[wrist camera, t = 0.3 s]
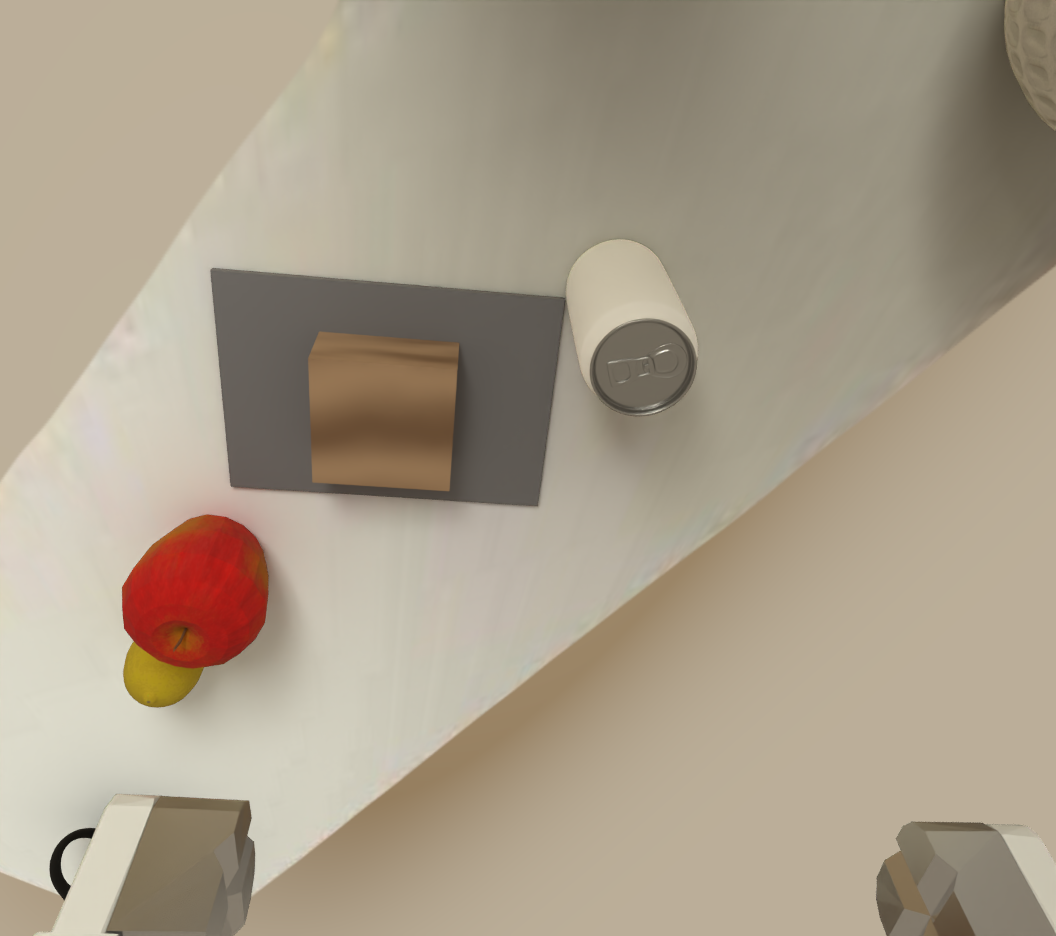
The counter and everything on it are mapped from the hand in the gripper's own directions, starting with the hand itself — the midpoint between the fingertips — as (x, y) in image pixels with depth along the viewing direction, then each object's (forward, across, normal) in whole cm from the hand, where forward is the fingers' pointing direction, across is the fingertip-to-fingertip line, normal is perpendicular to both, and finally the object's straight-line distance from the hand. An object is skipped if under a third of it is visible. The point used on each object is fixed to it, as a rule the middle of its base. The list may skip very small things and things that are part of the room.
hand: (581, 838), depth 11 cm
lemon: (+46, +22, +40) cm, 66 cm away
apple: (+46, +18, +31) cm, 59 cm away
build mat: (+46, +6, +18) cm, 50 cm away
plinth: (+46, +6, +18) cm, 50 cm away
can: (+46, -8, +9) cm, 48 cm away
